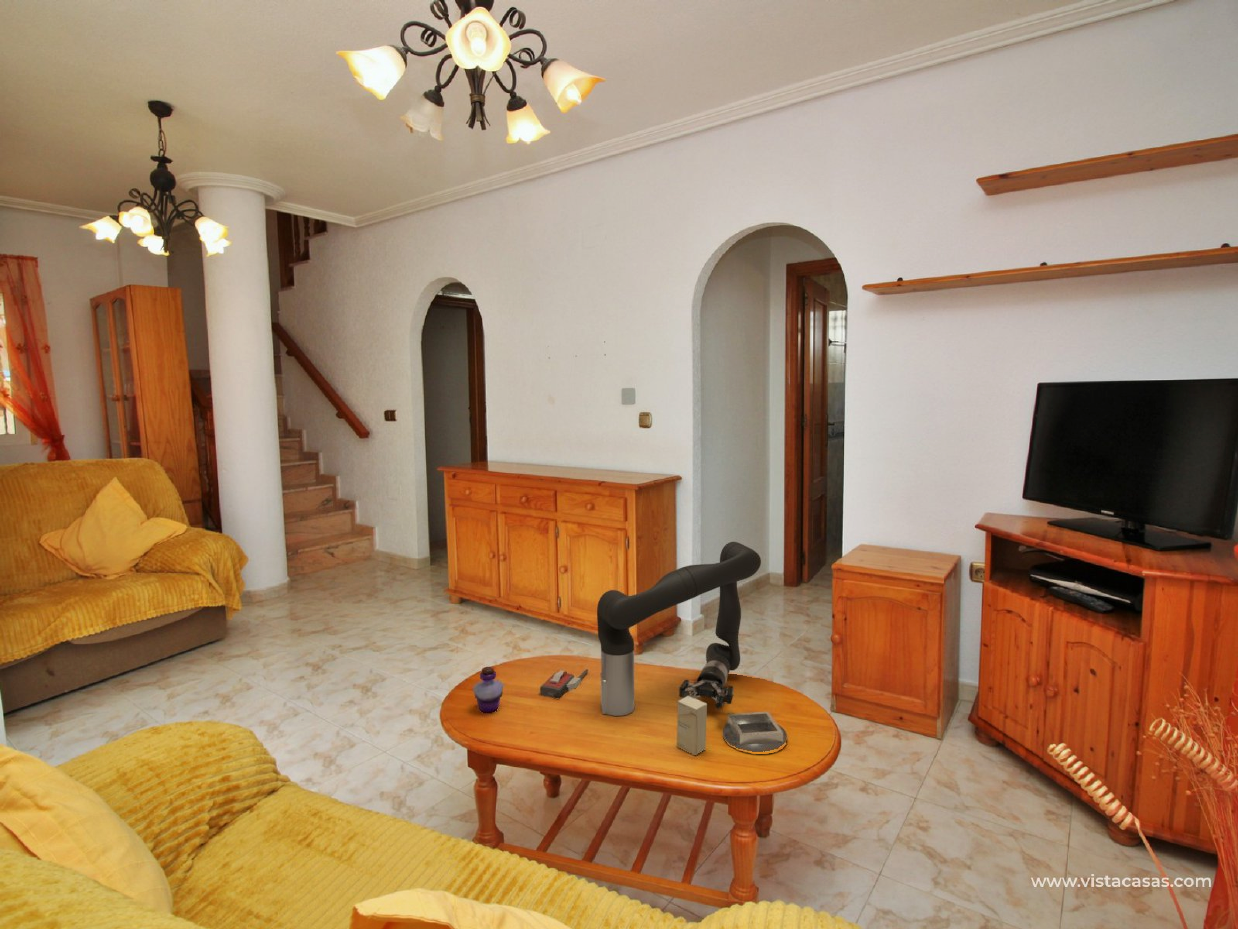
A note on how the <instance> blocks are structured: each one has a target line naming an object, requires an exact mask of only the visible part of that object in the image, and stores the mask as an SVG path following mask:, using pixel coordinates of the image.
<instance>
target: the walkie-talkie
mask: <svg viewBox="0 0 1238 929" xmlns="http://www.w3.org/2000/svg"><path fill="white" fill-rule="evenodd" d="M588 672H589V669H588V668H586V669H584V671H582V673H581V674H580V675H579V676H575V675H574V674H572V673H568V671H566V670H558V671H557V672H554V673H553V674H552V675H551V676H550V677H549V678H548V679H547V680H546V681H544V683H543V684H541V685H540V687H539V690H540V691H539V693H540V694H539V695H540V696H542V695H543V697H547V698H553V699H558V698H559V697H560V698H561V697H562V696H563V695H564V694H565V693H564V692H565V691H566V692H569V691H573V689H574V690H576V689H577V687H579V684H580V685H581V682H582V679H583V678H584V677H585V676H586V674H587V673H588ZM575 688H576V689H575ZM563 693H564V694H563Z"/></svg>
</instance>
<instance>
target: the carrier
mask: <svg viewBox="0 0 1238 929" xmlns="http://www.w3.org/2000/svg"><path fill="white" fill-rule="evenodd" d="M723 736H724V739H725V740H726V741H727V742H728V743H729V744H730V745H732V746H735V747H736V748H738V749H743V750H747V751H752V752H763V751H764V752H765V751H770V750H774V749H778V748H779V747H780V746H782V745H783V744H784V743H785V742H786V739H787V738H788V734H787V732H786V730H785V729H784V728H783V727H782V726H781V725H779V723H777V721H776V720H775V718H774V717H773V716H772V714H771V713H770V711H756V712H755V711H754V712H740V713H739V712H738V713H728V714H727V722H726V723H725V724H724V725H723V728H722V737H723ZM724 739H723V740H724ZM787 740H788V739H787Z"/></svg>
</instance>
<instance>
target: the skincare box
mask: <svg viewBox="0 0 1238 929" xmlns="http://www.w3.org/2000/svg"><path fill="white" fill-rule="evenodd" d="M707 712H708V704H707V702H704V701H702V700H699V699H698V698H692V697H690V696H687V697H685V698H683V699H682V698H680V699H678V700H677V722H676V723H677V724H676V730H677V731H676V747H677V746H678V747H679V749H680V748H681V749H680V750H682V749H683V750H682V751H684V750H685V751H684V752H686V751H687V753H688V752H689V753H688V754H690V753H692V754H693V755H692V754H691V755H692V756H694V755H696V756H697V754H698V753H700V752H701V753H703V752H704V751H703V750H704V749H706V747H707V746H706V745H707V743H706V742H707V717H708V715H707V714H708V713H707ZM678 747H677V748H678ZM702 751H703V752H702ZM701 753H700V754H701ZM698 755H699V754H698Z"/></svg>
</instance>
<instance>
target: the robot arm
mask: <svg viewBox="0 0 1238 929" xmlns="http://www.w3.org/2000/svg"><path fill="white" fill-rule="evenodd" d="M719 556H720V557H719V562H716V563H715V562H714V563H704V564H699V563H698V564H690V565H685V566H682V567H680V568H677V569H674V570H672V571H670V572H668V573H666V574H664V575H663V576H662V577H661V578H659V580H658V581H657V582H655V584H654V585H653V586H652V587H651V588H648V589H647V590H644V591H642V592H639V593H635V594H633V595H632V594H631V595H628V594H627V595H626V594H625V593H624V592H621V591H620V590H618V589H617V590H616V589H611V590H607V591H605V592H604V593H603V594H602V595H601V596H600V598H599V600H598V602H597V607H596V619H597V634H598V640H599V643H600V671H601V672H600V708H601V713H602V715H608V716H614V717H615V716H616V717H620V716H626V715H630V714H631V713H633V712H634V711H635V702H636V701H635V642H634V638H633V636H632V634H631V631H630V629H629V628H631V627H634V626H636V625H637V624H640V623H641V622H643V621H645V620H646V619H648V618H650V617H652V616H654V615H657V614H658V613H660V612H663V611H665V610H668V609H669V608H673V607H674V606H677V605H679V604H682V603H685V602H687V601H690V600H693V599H695V598H697V597H698V596H702V595H703V594H705V593H708V592H710V591H712V590H716V589H718V588H719V602H718V604H719V605H718V614H717V619H716V625H715V633H714V634H715V636H716V637H717V638H718V639H720V640H721V641H723V642H725V643H727V645H726V644H722V643H718V642H713V643H710V644H709V645H708V646H707V649H706V652H705V660H706V663H705V664H704V666H703V667H702V669H701V671H700V673H699V675H698V676H697V679H696V681H695V682H693V683H691V682H690V681H689V679H684V681H682V683H681V685H680V686H679V693H678V694H679V695H678V696H679V697H680V698H681V699H683V698H685V697H687V696H690V697H692V698H695V699H698V698H700V697H702V698H703V697H705V698H709V699H710V698H711V699H713V700H714V701H715V709H716V710H720V709H721V708H723V706H724V704H725V703H726V704H727V705H730V704H732V702H733V698H734V686H733V685H728V687H725V686H726V684H727V680H728V676H729V673H730V671H731V672H732V671H735V670H737V669H738V667H739V666H740V663H741V651H740V645H739V633H740V626H741V619H742V607H741V602H740V598H739V593H738V592H739V591H738V582H739V581H743V580H746V579H749V578H751V577H752V576H754V575H755V574H756V573H757V572H758V571H759V569H760V567H761V564H762V559H761V556H760V554H759V553H758V552H757V551H755V550H754V549H752V548H750V547H749V546H746V545H744V544H743V543H740V542H738V541H730V542H728V543H726V544H725V545H724V546H723V547H722V549H721V552H720V555H719Z"/></svg>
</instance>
